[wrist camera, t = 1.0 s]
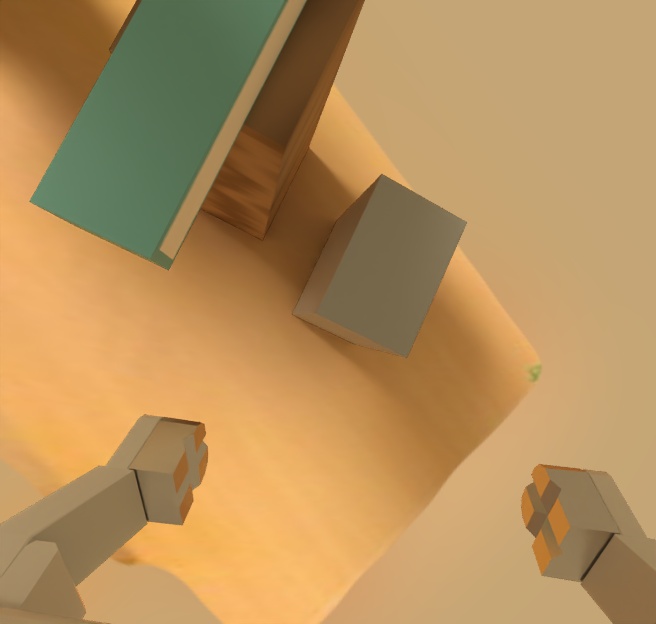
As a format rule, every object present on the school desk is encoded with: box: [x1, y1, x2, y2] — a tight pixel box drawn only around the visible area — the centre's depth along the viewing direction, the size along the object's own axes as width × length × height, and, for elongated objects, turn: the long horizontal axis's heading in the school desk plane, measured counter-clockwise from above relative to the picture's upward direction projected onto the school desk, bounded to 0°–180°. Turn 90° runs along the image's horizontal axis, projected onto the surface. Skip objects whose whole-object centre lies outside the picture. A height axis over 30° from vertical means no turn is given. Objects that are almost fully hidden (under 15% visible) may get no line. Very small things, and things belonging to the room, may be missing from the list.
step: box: [292, 174, 467, 358], centre depth 40 cm, size 8×12×16 cm, turn 155°
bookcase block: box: [109, 0, 365, 240], centre depth 33 cm, size 9×12×26 cm
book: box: [29, 0, 307, 270], centre depth 18 cm, size 5×20×4 cm, turn 155°
